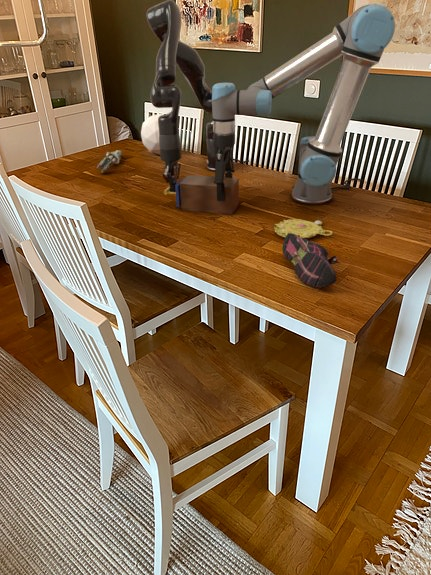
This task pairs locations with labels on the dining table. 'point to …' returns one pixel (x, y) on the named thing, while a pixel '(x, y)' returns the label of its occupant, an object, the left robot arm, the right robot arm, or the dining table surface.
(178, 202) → the drawer
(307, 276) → the athletic shoe
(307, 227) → the decorative object
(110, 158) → the figurine
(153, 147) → the sphere
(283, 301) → the dining table surface
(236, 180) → the cabinet
